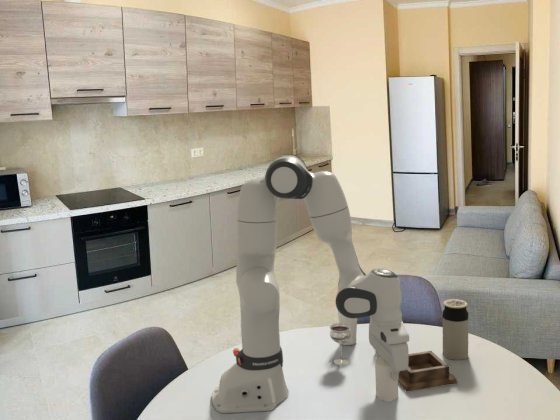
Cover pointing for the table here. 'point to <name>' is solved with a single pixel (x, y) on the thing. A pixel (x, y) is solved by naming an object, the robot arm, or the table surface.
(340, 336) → the wineglass
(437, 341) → the table surface
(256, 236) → the robot arm
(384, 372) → the candle
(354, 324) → the drinking glass
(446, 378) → the candle holder
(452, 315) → the travel mug
